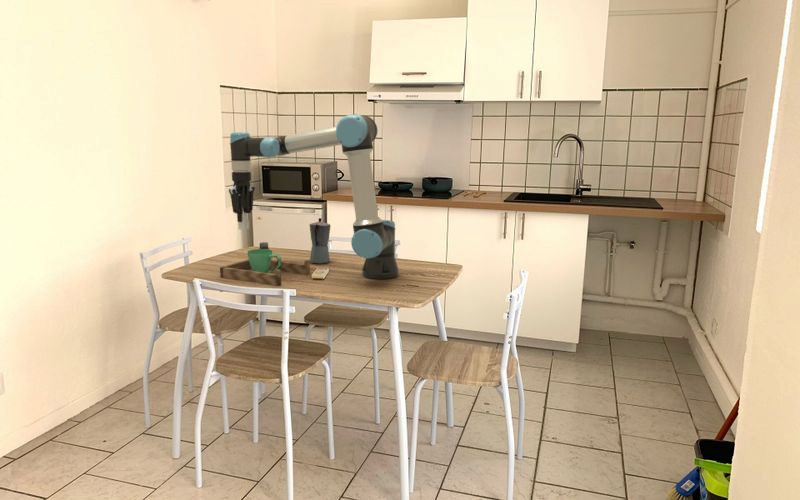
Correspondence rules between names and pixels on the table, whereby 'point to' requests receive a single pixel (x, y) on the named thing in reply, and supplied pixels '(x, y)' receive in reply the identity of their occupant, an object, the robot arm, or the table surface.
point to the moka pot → (319, 242)
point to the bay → (242, 272)
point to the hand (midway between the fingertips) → (243, 229)
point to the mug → (262, 260)
